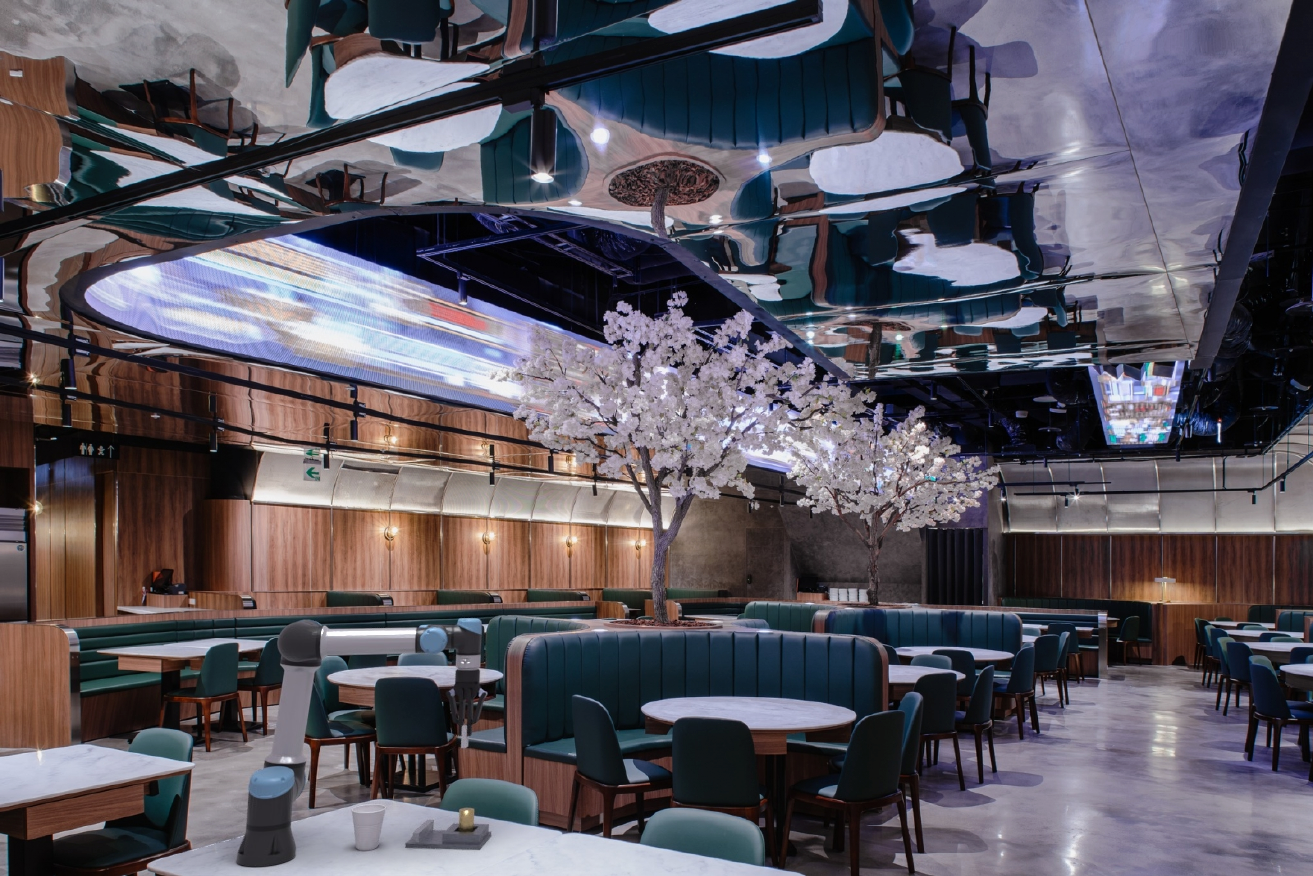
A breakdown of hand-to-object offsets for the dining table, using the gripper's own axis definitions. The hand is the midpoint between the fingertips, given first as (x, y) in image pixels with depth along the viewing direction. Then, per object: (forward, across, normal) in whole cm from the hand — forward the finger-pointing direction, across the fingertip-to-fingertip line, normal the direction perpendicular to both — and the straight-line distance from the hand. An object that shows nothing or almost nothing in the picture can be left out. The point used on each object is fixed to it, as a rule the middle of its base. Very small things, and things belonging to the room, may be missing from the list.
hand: (464, 747), depth 275 cm
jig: (+26, -2, -6) cm, 27 cm away
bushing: (+25, +3, -6) cm, 26 cm away
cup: (+26, -24, -14) cm, 38 cm away
